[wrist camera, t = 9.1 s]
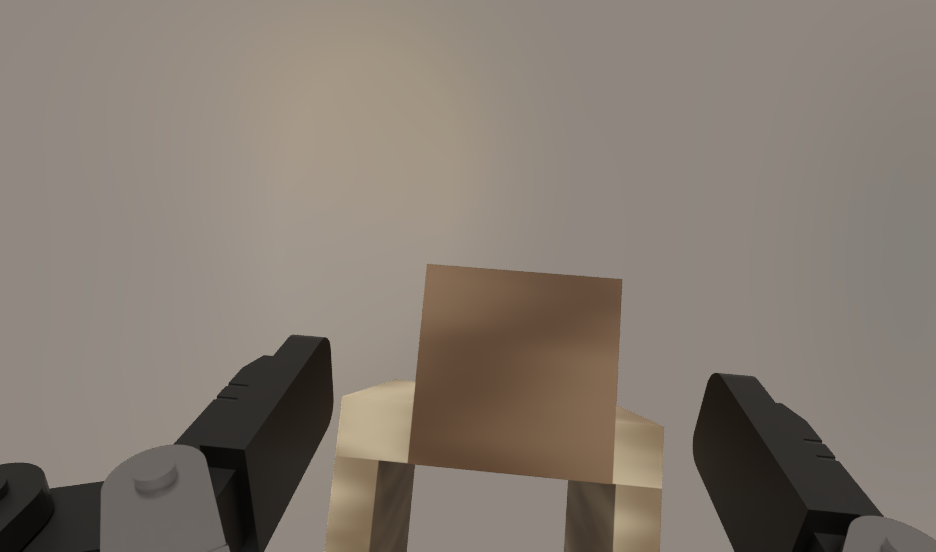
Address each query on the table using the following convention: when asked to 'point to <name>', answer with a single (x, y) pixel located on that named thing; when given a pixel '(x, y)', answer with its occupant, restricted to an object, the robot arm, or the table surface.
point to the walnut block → (517, 373)
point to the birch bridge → (391, 479)
